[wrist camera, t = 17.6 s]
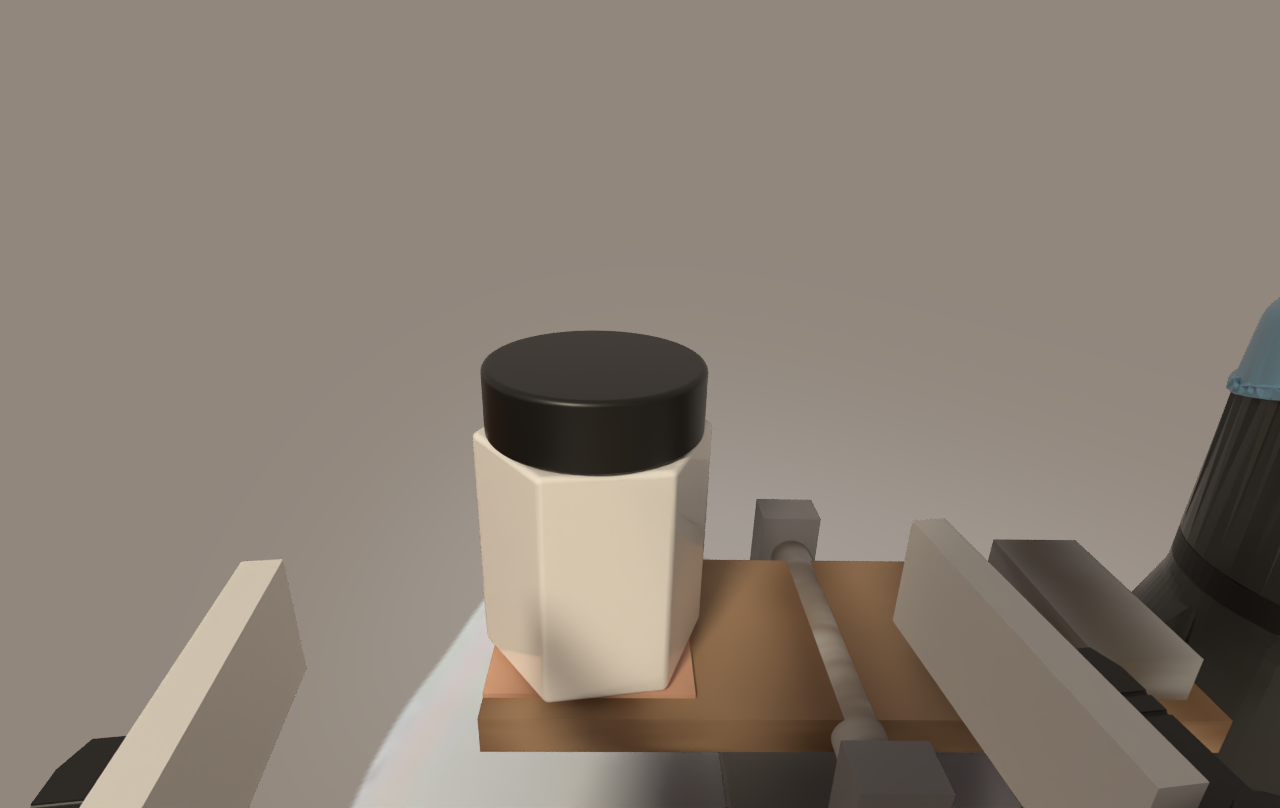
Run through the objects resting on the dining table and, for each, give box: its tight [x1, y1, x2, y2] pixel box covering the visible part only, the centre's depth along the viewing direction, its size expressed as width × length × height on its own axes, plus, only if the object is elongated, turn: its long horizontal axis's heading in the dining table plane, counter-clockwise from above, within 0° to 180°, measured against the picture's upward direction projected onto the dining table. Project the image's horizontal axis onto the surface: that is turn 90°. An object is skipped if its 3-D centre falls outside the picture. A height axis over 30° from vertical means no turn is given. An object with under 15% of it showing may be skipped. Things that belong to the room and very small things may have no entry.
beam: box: [478, 540, 1233, 758], centre depth 30 cm, size 28×13×4 cm, turn 91°
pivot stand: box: [719, 499, 956, 808], centre depth 31 cm, size 8×18×9 cm, turn 1°
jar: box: [473, 331, 712, 703], centre depth 27 cm, size 9×8×12 cm
